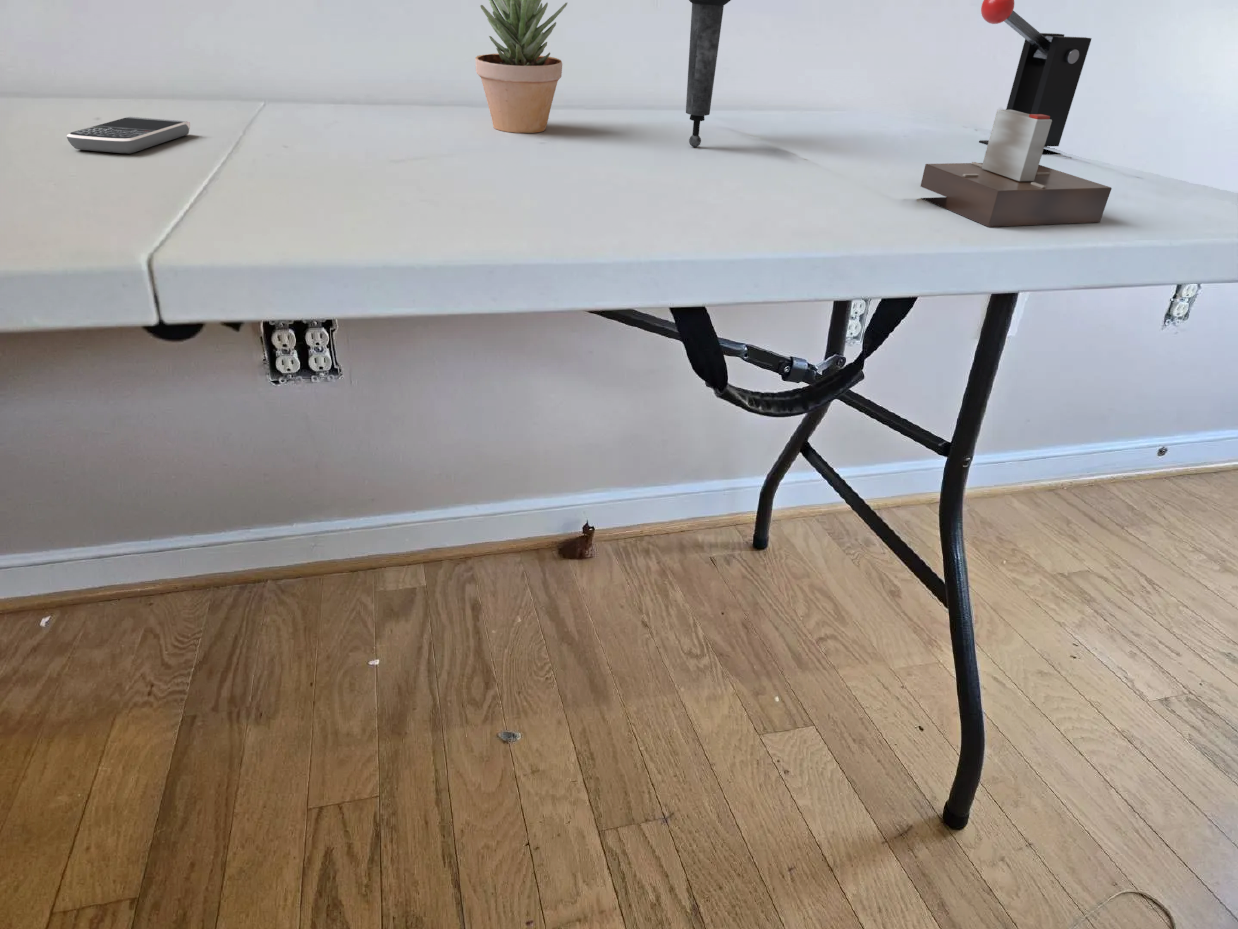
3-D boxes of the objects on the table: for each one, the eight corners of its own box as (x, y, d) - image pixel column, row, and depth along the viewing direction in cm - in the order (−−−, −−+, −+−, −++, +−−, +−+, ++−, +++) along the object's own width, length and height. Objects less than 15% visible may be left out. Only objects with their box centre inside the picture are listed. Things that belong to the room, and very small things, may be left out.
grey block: (981, 168, 77) (997, 106, 74) (995, 168, 77) (1012, 106, 75) (1019, 181, 73) (1038, 116, 70) (1034, 181, 73) (1053, 116, 71)
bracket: (1016, 163, 96) (1052, 37, 89) (976, 150, 101) (1007, 30, 95) (1072, 162, 98) (1112, 39, 92) (1030, 150, 104) (1064, 33, 97)
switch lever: (988, 15, 88) (1007, -17, 87) (969, 12, 90) (987, -18, 89) (1062, 75, 94) (1080, 46, 93) (1041, 71, 97) (1059, 43, 96)
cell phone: (64, 151, 76) (59, 134, 75) (137, 129, 86) (133, 114, 85) (130, 156, 76) (126, 140, 75) (196, 134, 85) (193, 119, 84)
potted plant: (481, 135, 93) (473, -141, 80) (474, 119, 101) (466, -134, 88) (571, 136, 95) (578, -132, 82) (557, 121, 103) (561, -126, 90)
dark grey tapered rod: (654, 147, 92) (670, -70, 82) (675, 138, 98) (692, -67, 87) (715, 156, 90) (738, -66, 80) (733, 145, 96) (757, -64, 85)
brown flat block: (1021, 193, 83) (1031, 160, 81) (1100, 222, 75) (1113, 185, 73) (917, 196, 79) (925, 161, 78) (988, 227, 71) (999, 188, 70)
